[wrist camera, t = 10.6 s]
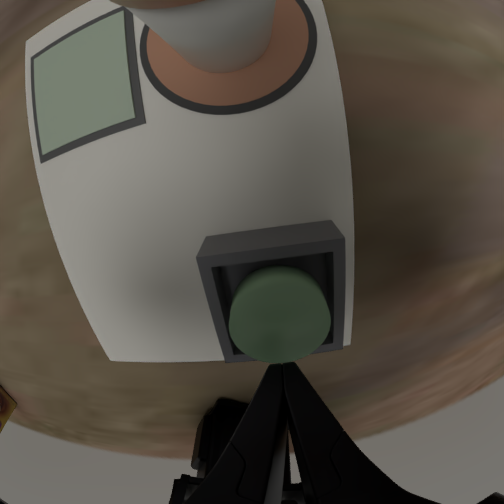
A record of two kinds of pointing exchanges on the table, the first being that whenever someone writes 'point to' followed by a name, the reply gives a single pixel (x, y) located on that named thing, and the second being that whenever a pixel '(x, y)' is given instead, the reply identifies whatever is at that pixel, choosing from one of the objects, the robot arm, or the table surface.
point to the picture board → (179, 164)
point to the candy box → (5, 407)
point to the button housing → (267, 254)
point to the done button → (279, 314)
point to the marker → (210, 29)
